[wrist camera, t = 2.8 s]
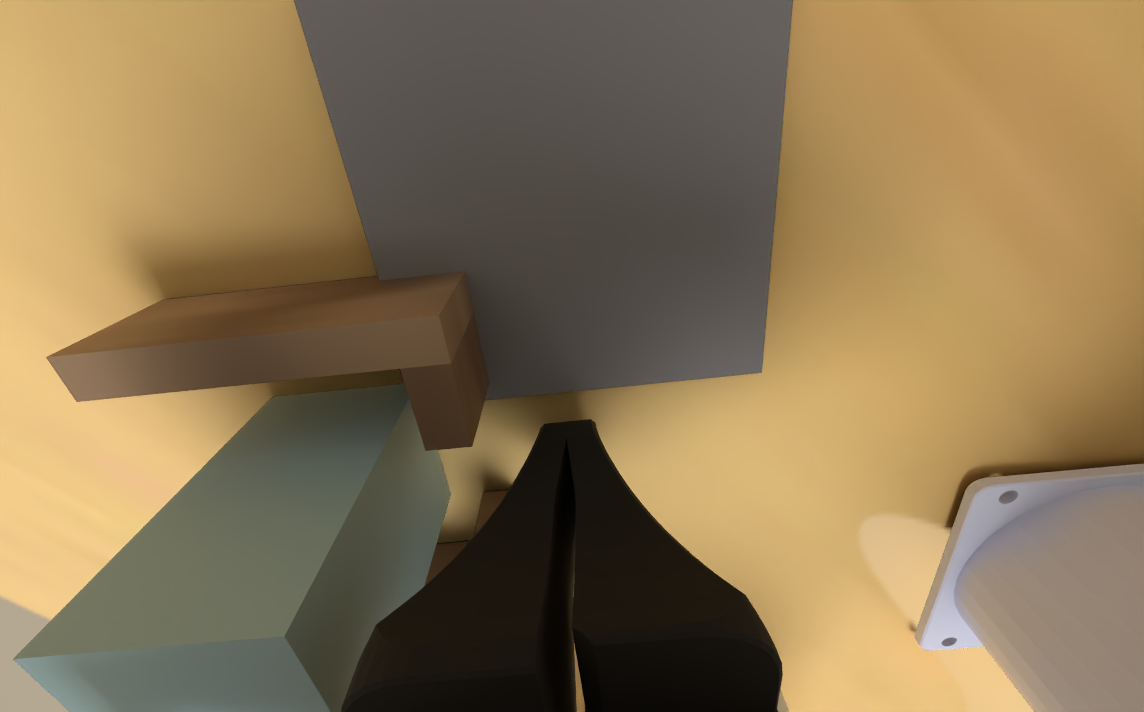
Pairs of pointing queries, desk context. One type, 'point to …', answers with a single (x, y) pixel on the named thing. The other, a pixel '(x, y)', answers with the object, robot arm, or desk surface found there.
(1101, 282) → the desk surface
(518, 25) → the mat
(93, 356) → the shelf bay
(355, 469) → the block
